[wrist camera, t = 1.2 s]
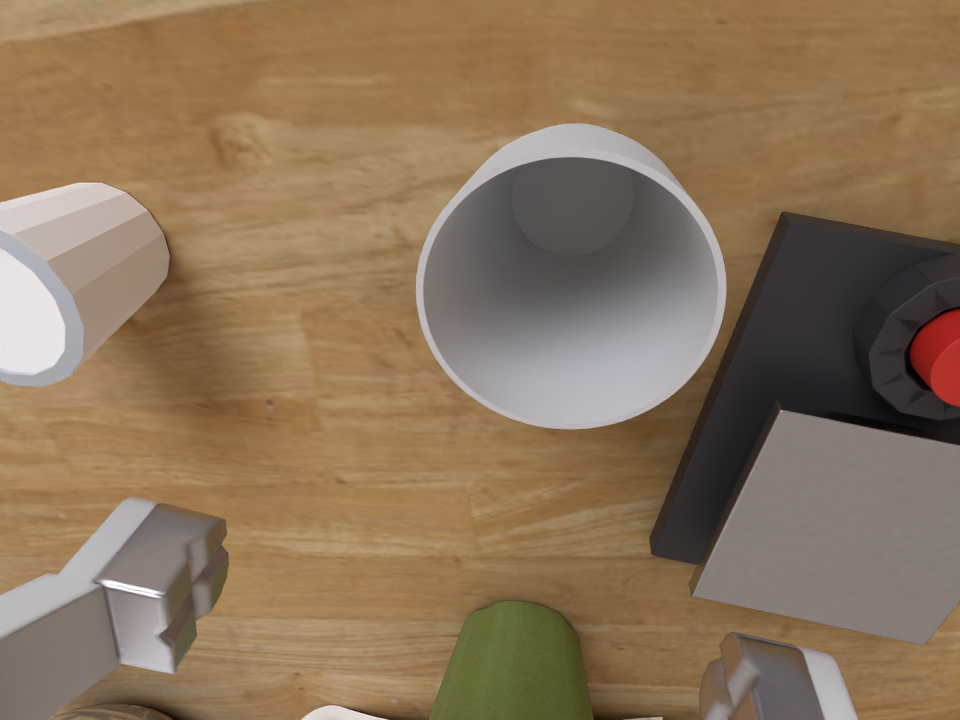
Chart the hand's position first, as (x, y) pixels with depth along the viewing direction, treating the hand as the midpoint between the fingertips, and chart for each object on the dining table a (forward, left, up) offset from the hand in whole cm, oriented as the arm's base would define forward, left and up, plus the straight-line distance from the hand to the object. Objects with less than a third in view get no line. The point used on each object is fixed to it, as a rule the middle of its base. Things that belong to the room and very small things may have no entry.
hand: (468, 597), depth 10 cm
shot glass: (+5, -19, -19) cm, 27 cm away
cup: (-1, +1, -19) cm, 19 cm away
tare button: (+1, +16, -16) cm, 23 cm away
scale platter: (+10, +16, -16) cm, 24 cm away
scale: (+7, +16, -19) cm, 26 cm away
